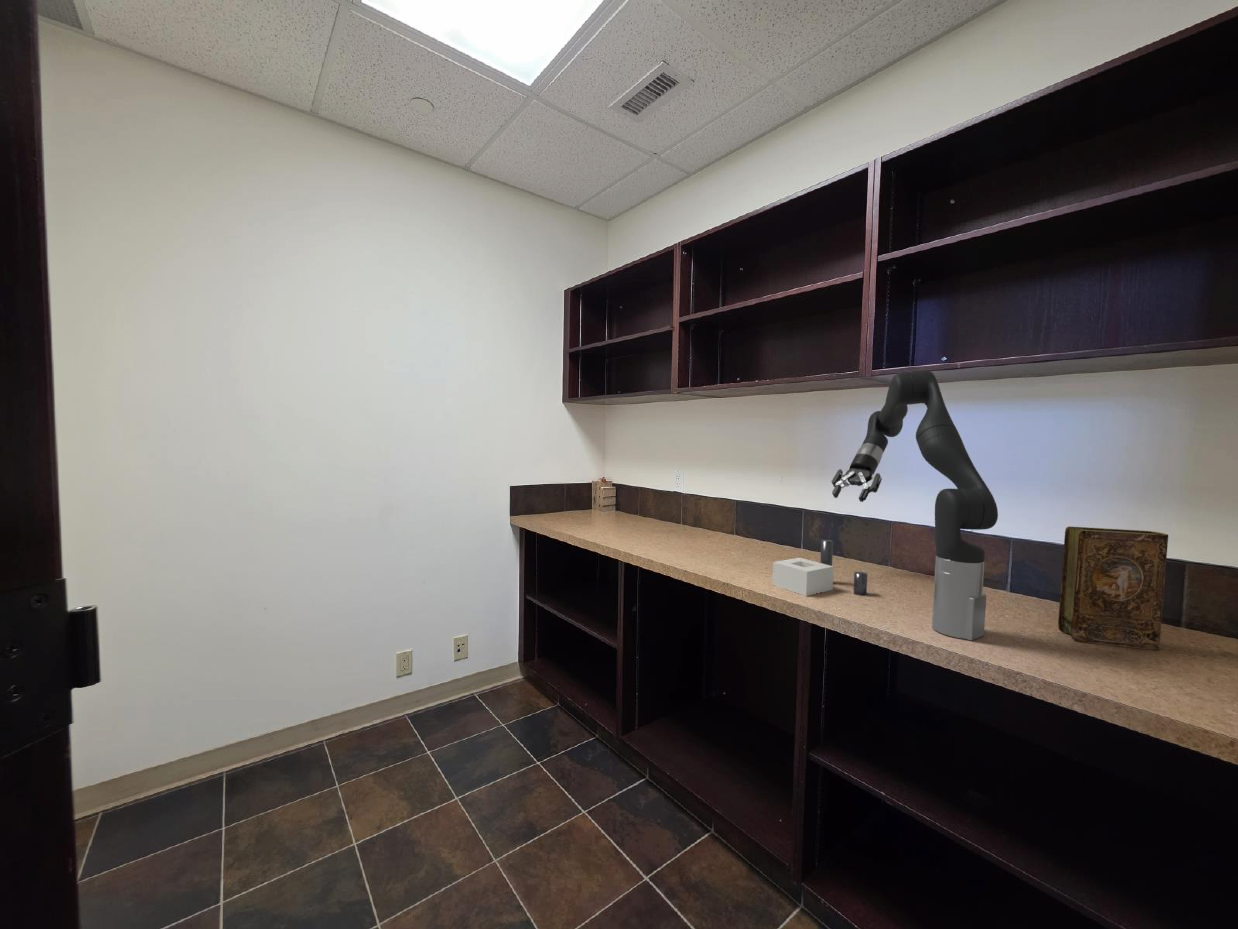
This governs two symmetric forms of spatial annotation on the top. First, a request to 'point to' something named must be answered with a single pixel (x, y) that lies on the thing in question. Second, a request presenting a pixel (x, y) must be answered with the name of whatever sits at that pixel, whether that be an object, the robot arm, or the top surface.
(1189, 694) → the top surface
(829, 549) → the long pin
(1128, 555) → the book
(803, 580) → the hole block
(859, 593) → the short pin
